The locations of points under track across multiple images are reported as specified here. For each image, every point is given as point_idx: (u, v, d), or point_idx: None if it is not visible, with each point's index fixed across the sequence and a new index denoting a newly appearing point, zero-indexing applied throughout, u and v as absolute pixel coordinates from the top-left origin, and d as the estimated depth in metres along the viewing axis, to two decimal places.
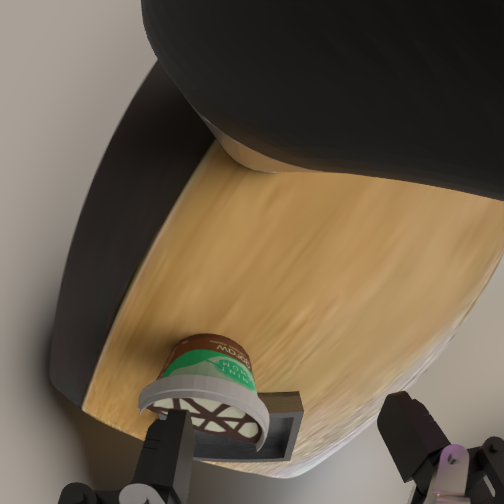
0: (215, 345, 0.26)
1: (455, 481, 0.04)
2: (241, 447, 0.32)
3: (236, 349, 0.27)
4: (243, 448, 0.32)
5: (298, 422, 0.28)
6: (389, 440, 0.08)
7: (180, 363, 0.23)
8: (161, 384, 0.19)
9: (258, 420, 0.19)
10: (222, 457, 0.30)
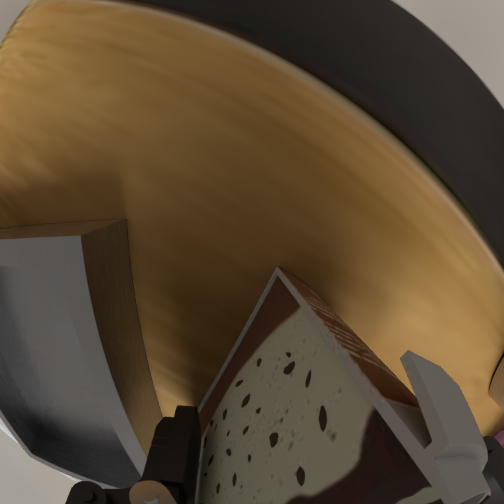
0: None
1: None
2: (9, 380, 0.11)
3: None
4: (9, 384, 0.11)
5: None
6: None
7: None
8: None
9: None
10: None
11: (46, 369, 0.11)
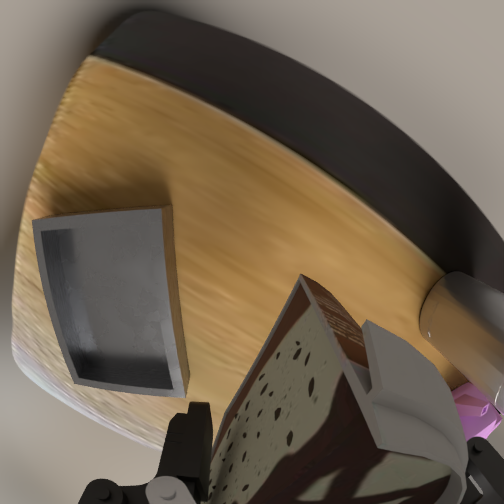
0: None
1: None
2: (71, 317, 0.22)
3: None
4: (71, 320, 0.22)
5: (163, 393, 0.22)
6: None
7: None
8: None
9: None
10: (54, 300, 0.20)
11: (108, 299, 0.22)
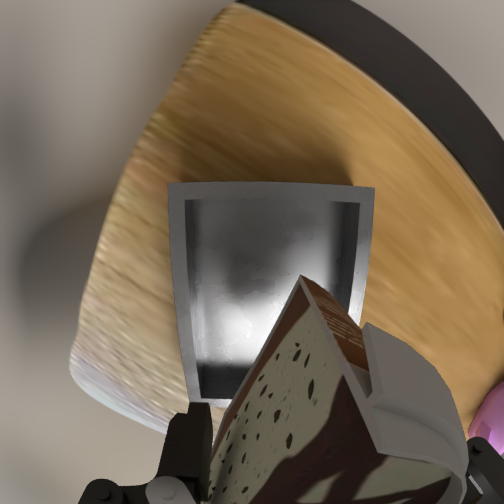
0: None
1: None
2: (197, 320, 0.20)
3: None
4: (197, 325, 0.20)
5: None
6: None
7: None
8: None
9: None
10: (190, 300, 0.17)
11: (261, 295, 0.20)
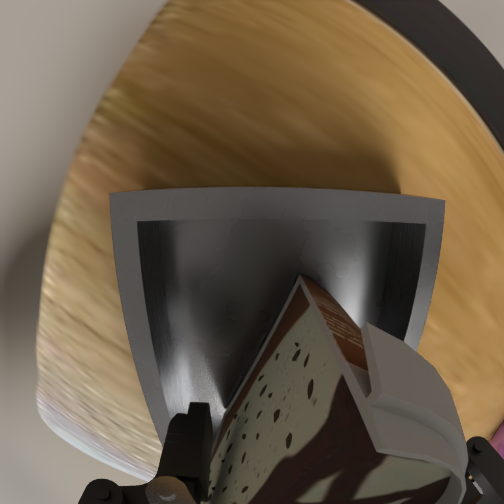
0: None
1: None
2: (178, 386, 0.13)
3: None
4: (178, 392, 0.13)
5: None
6: None
7: None
8: None
9: None
10: (160, 372, 0.10)
11: None
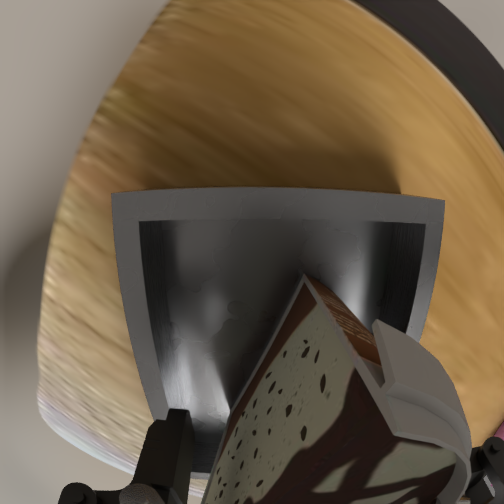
0: None
1: None
2: (179, 385, 0.13)
3: None
4: (179, 391, 0.13)
5: None
6: None
7: None
8: None
9: None
10: (162, 371, 0.10)
11: None
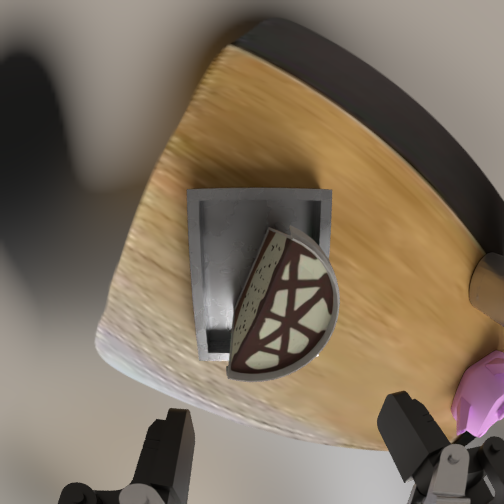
0: None
1: (455, 480, 0.04)
2: (206, 290, 0.27)
3: None
4: (206, 294, 0.27)
5: None
6: (389, 440, 0.08)
7: None
8: (329, 263, 0.18)
9: (296, 369, 0.19)
10: (202, 271, 0.24)
11: None
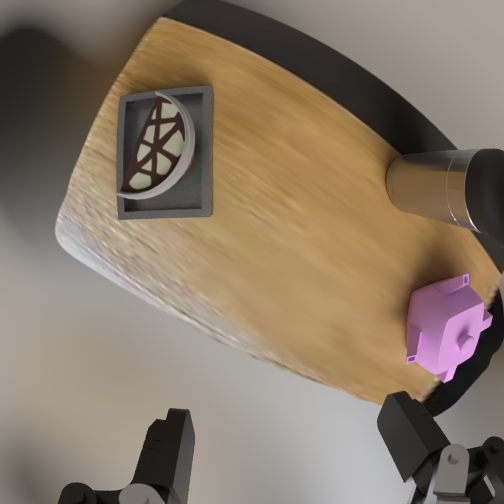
0: (194, 151, 0.32)
1: (455, 481, 0.04)
2: None
3: (188, 169, 0.33)
4: None
5: (192, 214, 0.33)
6: (389, 440, 0.08)
7: None
8: (184, 109, 0.25)
9: (160, 184, 0.25)
10: (124, 147, 0.31)
11: None
